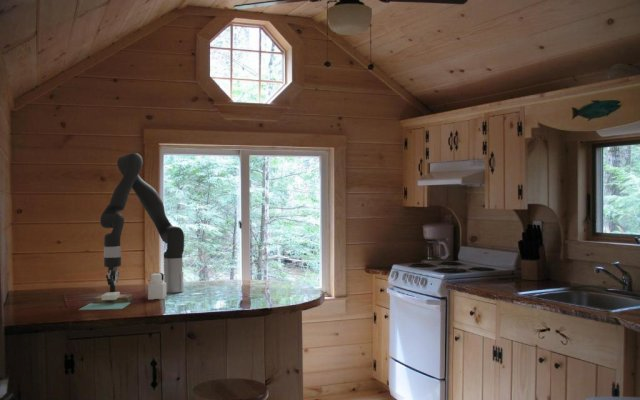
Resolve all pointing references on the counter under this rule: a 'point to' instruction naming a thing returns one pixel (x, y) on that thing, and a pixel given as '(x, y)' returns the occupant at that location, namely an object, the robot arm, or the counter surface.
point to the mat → (104, 306)
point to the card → (110, 295)
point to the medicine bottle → (157, 287)
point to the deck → (122, 299)
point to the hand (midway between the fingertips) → (112, 293)
